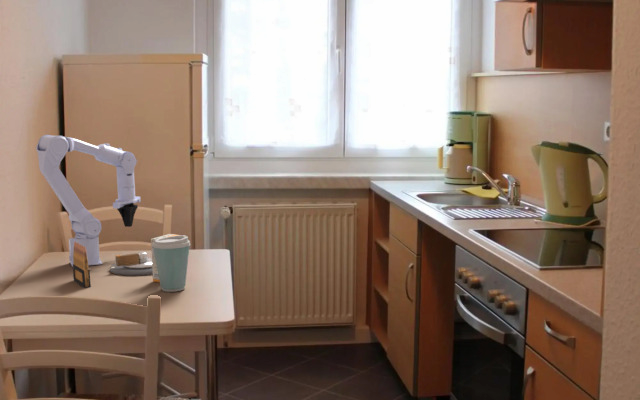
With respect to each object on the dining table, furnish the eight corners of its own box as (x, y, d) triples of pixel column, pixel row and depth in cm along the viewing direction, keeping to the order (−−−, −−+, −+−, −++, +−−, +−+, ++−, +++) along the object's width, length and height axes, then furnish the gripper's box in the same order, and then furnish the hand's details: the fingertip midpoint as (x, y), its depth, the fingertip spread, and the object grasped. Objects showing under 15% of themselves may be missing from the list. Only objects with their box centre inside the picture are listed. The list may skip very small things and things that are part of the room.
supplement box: (170, 275, 235) (169, 233, 233) (182, 277, 232) (181, 234, 230) (151, 281, 228) (150, 238, 226) (164, 283, 225) (162, 239, 223)
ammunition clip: (73, 280, 230) (71, 241, 228) (79, 279, 231) (77, 240, 229) (84, 288, 221) (82, 247, 219) (90, 287, 222) (88, 246, 220)
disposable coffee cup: (155, 295, 212) (153, 242, 210) (152, 286, 222) (150, 235, 220) (194, 292, 215) (192, 239, 213) (189, 283, 225) (187, 232, 223)
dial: (152, 258, 253) (152, 246, 252) (168, 265, 243) (167, 252, 242) (110, 264, 244) (109, 252, 244) (124, 271, 235) (123, 259, 234)
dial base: (115, 278, 232) (115, 274, 231) (106, 265, 250) (106, 261, 250) (181, 271, 239) (181, 267, 239) (167, 259, 258) (167, 255, 257)
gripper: (127, 183, 267) (129, 222, 269) (103, 189, 253) (106, 229, 255) (145, 184, 265) (147, 222, 267) (122, 189, 251) (124, 230, 253)
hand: (128, 226), depth 261 cm, fingers closed
